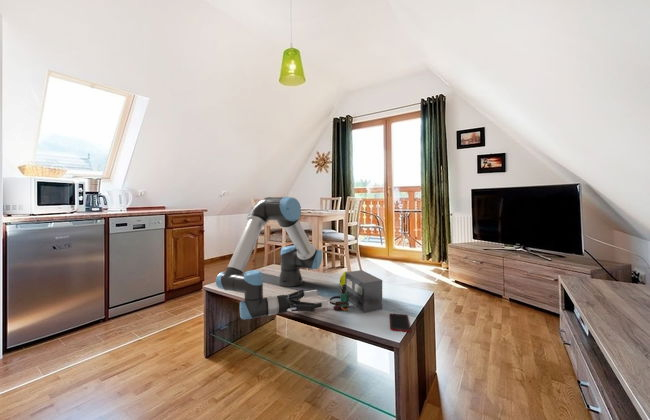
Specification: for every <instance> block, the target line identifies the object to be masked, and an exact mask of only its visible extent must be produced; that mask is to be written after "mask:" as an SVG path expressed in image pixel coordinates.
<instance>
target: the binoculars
mask: <svg viewBox="0 0 650 420" xmlns="http://www.w3.org/2000/svg"><path fill="white" fill-rule="evenodd" d="M340 291H341V292H340V295H336V296H335V295H334V296H332V297H330V298H329V304H331V305H332V309H333V310H334V311H337V310H342V311H344V312H347V311H349V307H350V302H349V298H348V297H350V296H349V295H348V293H347V289H346V285H342V286H341V288H340ZM334 299H339V300H338V301H335V302H333V301H332V300H334ZM333 305H334V306H333Z"/></svg>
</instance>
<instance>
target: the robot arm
mask: <svg viewBox="0 0 650 420" xmlns="http://www.w3.org/2000/svg"><path fill="white" fill-rule="evenodd" d="M301 216H302V206H301V203H300V201H299V200H298V199H297V198H295V197H292V196H290V197H289V196H279V197H278V196H275V197H274V196H273V197H271V196H269V197H263V198H262V199H260V200H259V201H258V202H257V203H256V204H255V205H253V207H252V209H251V210H250V212H249V213H248V216H247V218H246V219H247V222H246V225H245V228H244V229H243V232H242V233H241V236H240V238H239V240H238V242H237V244H236V248H235V249H234V252H233V254H232V256H231V257H230V260H229V262H228V265H227V267H226V269H225V271H220V272H219V274H217V276H216V278H215V285H216V287H217V288H218V289H220V290H223V291H229V292H237V293H242V294H244V295H243V296H244V299H243V300H241V301H239V316H240V319H241V320H250V319H251V320H252V319H256V318H262V317H266V316H270V317H272V316H274V315H277V314H279V315H281V314H285V313H287V311H288V309H290V312H292V313H294V312H310V313H311V312H315V310H316V309H319V308H325V307H329V300H328V299H324V300H318V301H313V302H309V301H308V302H307V301H301V299H303V298H304V299H305V298H311V297H317V296H318V289H313V290H308V291H307V290H306V291H305V290H304V289H301V290H297V291H294V292H292V293H289V294H280V295H277V296H276V295H272V296H267V297H264V280H263V279H264V278H263V272H262V271H261V270H257V269H254V270H252V269H251V270H247V271H245V270H246V268H247V265H248V262H249V261H250V257H251V256H252V253H253V251H254V248H255V246H256V243H257V241H258V238H259V236H260V233H261V231H262V229H263V227H265V226H266V225H267V223H268V221H277V223H278V225H279V226H280V227H281V228H284V229H285V231H286V233H287V235H288V237H289V239H290V240H291V242H292V244H293V245H287V246H284V247H281V249H280V274H279V276H278V280H277V283H278V285H279V286H281V287H286V288H287V287H296V286H300V285H302V284H303V282H304V281H303V276H302V273H301V270H300V269H301V268H302V269H308V270H318V269H320V267H321V264H322V262H323V261H322V260H323V251H322V250H321V249H317V248H316V246H315V245H314V244H312V243H311V242H310V240H309V238H308V235H307V233H306V231H305V230H304V228H303V226H302V224H301V222H300V218H301Z"/></svg>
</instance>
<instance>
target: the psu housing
mask: <svg viewBox="0 0 650 420" xmlns="http://www.w3.org/2000/svg"><path fill="white" fill-rule="evenodd" d="M344 272H345V271H344ZM345 285H346V289H347V293H348V295H349V296H350V297H348V298H349V302H348V303H351V305H353V306H354V307H356V308H357V309H359V310H360V312H362V313H364V314H366V313H370V312H375V311H380V310H383V280H382V279H381V278H379V277H377V276H375V275H372V274H371V273H368V272H367V271H364V270H363V269H359V270H352V271H348V272H345Z"/></svg>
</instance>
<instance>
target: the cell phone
mask: <svg viewBox="0 0 650 420" xmlns="http://www.w3.org/2000/svg"><path fill="white" fill-rule="evenodd" d="M389 324H390V327H389V328H390V331H392V332H402V333H411V326H410V321H409V316H408V314H402V313H389Z"/></svg>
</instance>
